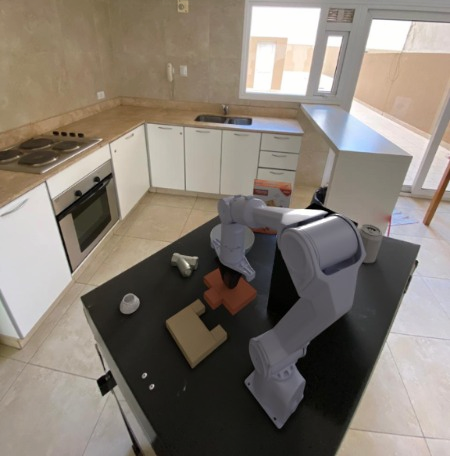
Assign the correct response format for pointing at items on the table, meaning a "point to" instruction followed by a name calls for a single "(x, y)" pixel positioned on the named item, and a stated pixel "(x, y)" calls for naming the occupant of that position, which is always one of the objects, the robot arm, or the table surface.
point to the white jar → (129, 304)
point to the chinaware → (247, 240)
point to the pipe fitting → (184, 263)
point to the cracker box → (271, 197)
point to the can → (370, 241)
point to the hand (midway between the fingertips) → (229, 282)
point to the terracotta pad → (227, 292)
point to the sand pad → (194, 333)
